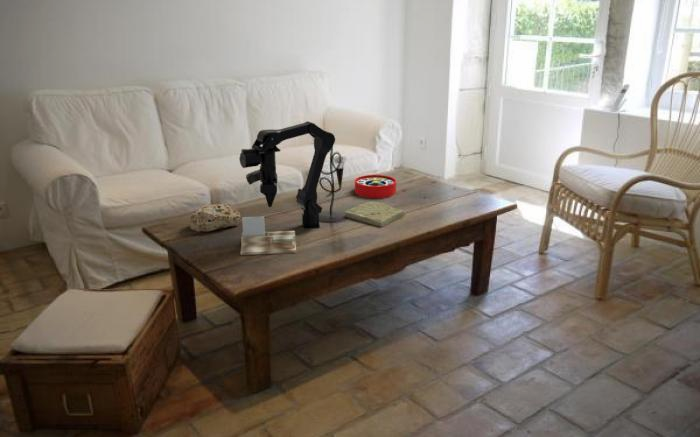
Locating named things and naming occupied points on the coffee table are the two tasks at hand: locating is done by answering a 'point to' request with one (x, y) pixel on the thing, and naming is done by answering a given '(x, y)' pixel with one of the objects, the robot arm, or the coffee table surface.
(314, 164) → the robot arm
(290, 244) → the offcut stack
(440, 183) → the coffee table surface
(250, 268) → the coffee table surface
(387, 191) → the toy clock
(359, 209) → the decorative tile
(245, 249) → the rack
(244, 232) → the sheet
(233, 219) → the rock
